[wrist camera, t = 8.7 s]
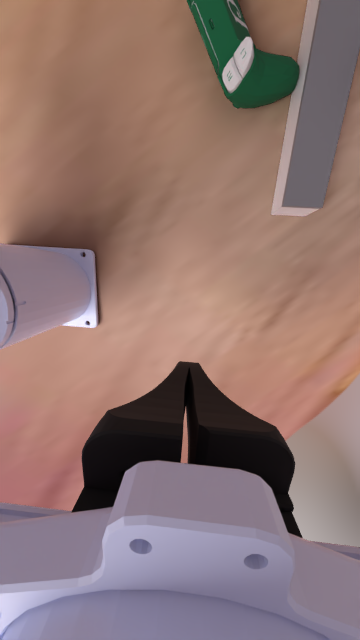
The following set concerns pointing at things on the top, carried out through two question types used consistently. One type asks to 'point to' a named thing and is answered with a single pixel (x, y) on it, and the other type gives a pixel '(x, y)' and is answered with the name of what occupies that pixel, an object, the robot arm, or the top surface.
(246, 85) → the gaming controller
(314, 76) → the bar
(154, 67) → the top surface
